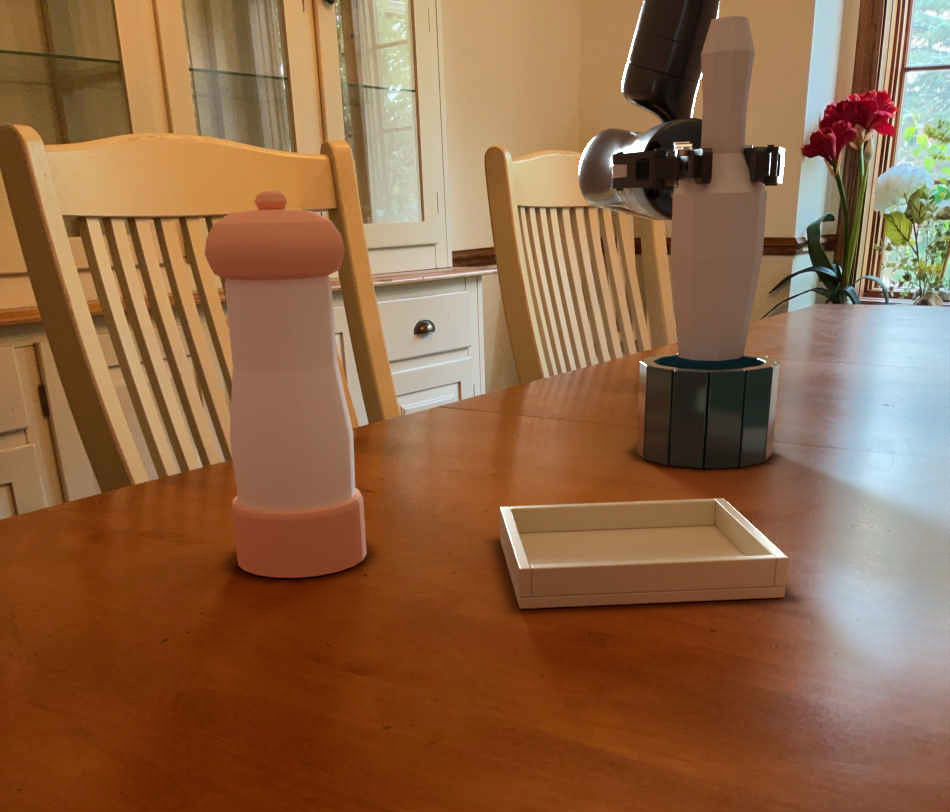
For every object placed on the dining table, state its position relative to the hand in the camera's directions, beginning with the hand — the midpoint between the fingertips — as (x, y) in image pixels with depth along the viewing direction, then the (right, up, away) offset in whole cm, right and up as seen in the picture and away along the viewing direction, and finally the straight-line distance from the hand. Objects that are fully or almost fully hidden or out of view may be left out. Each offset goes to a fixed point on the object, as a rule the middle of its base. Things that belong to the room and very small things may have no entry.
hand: (733, 165), depth 70 cm
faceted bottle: (0, -11, +8) cm, 14 cm away
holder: (0, -18, +10) cm, 21 cm away
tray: (-9, -28, -14) cm, 33 cm away
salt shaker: (-27, -28, -11) cm, 40 cm away
